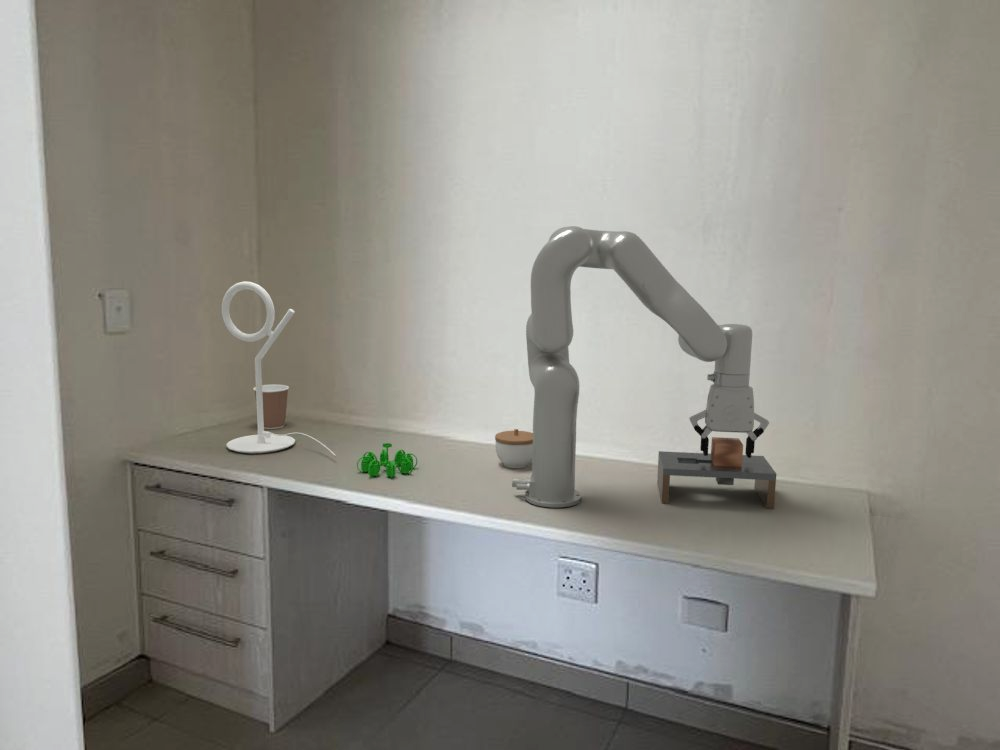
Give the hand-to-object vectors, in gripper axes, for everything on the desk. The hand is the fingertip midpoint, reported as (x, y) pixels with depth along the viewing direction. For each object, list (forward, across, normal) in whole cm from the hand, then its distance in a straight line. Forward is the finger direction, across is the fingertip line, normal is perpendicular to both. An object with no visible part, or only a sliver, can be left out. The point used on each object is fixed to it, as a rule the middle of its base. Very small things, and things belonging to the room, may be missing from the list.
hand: (726, 455), depth 177 cm
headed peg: (+6, 0, 0) cm, 6 cm away
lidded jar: (+10, -50, +17) cm, 53 cm away
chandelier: (+10, -80, +7) cm, 81 cm away
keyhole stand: (+10, -2, 0) cm, 10 cm away
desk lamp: (+10, -112, +22) cm, 115 cm away
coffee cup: (+10, -126, +45) cm, 135 cm away
